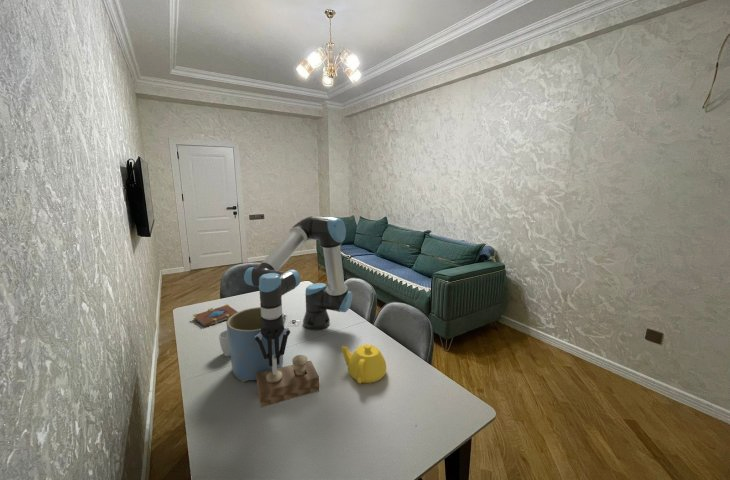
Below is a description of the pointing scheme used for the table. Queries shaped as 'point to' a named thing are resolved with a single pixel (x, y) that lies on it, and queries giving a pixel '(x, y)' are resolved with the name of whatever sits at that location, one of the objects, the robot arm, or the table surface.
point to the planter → (248, 344)
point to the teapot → (365, 363)
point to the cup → (224, 343)
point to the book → (214, 315)
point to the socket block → (287, 384)
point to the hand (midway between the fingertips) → (274, 372)
